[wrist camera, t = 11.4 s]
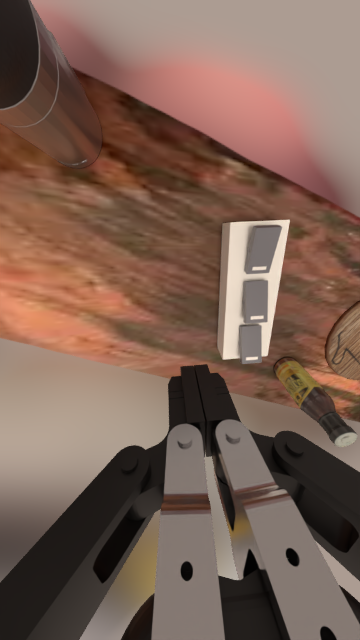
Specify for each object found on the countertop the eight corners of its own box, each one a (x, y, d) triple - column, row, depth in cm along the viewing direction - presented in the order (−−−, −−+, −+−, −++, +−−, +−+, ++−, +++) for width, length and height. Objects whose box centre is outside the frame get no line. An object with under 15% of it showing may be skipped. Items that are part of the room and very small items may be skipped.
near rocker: (252, 224, 32) (256, 228, 30) (276, 223, 32) (282, 227, 30) (243, 269, 36) (246, 274, 35) (264, 268, 37) (269, 273, 35)
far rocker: (238, 325, 41) (241, 327, 39) (257, 324, 41) (261, 325, 39) (239, 360, 42) (242, 364, 40) (257, 359, 42) (261, 362, 40)
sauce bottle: (276, 355, 51) (339, 424, 32) (299, 356, 51) (373, 425, 33) (269, 375, 53) (323, 450, 35) (290, 377, 54) (354, 451, 36)
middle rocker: (242, 282, 37) (246, 281, 35) (263, 280, 37) (268, 280, 36) (242, 322, 38) (246, 323, 37) (263, 320, 39) (267, 322, 37)
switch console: (222, 223, 37) (230, 222, 33) (276, 221, 38) (291, 219, 33) (217, 347, 48) (222, 359, 44) (258, 344, 49) (268, 355, 44)
